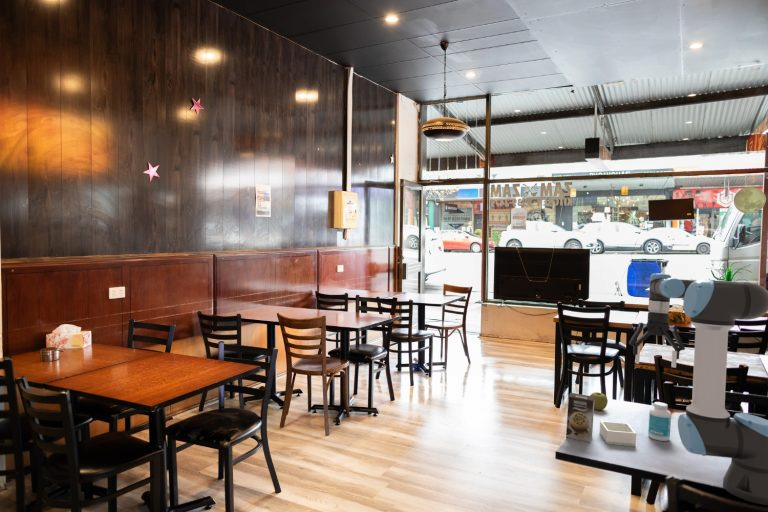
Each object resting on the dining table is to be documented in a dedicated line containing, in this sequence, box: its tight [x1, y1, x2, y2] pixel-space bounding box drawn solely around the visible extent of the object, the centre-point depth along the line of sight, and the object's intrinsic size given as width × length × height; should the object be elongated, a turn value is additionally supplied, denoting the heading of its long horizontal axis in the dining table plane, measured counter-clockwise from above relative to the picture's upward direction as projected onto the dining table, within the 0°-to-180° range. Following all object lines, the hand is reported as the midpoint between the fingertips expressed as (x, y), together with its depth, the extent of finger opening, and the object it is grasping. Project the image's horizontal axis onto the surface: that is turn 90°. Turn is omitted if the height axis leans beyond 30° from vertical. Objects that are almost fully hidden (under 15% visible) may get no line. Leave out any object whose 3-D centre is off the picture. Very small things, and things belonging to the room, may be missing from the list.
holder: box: [599, 420, 637, 447], centre depth 196 cm, size 10×10×5 cm
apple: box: [589, 392, 608, 411], centre depth 231 cm, size 8×8×7 cm
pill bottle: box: [647, 401, 672, 442], centre depth 200 cm, size 8×7×14 cm
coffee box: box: [565, 392, 595, 443], centre depth 197 cm, size 9×6×16 cm
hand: (655, 365), depth 206 cm, fingers open, 13 cm apart
